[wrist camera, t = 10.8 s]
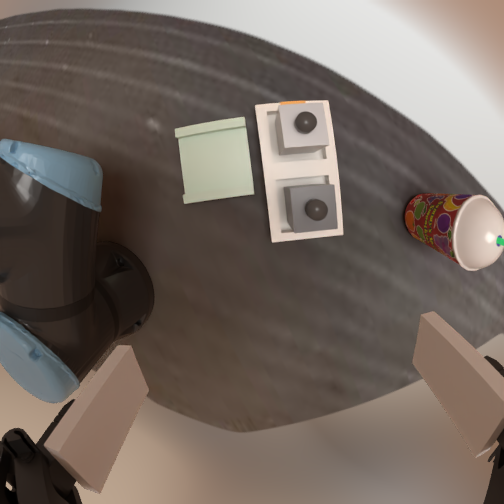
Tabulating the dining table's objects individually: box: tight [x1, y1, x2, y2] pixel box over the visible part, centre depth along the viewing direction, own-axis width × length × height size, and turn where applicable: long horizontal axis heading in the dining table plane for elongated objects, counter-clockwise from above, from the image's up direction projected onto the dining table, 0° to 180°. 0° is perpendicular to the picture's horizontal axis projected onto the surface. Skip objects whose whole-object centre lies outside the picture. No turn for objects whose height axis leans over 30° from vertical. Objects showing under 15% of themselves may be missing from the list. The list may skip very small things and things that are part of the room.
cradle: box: [175, 117, 254, 204], centre depth 34 cm, size 9×10×2 cm
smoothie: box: [405, 193, 504, 271], centre depth 25 cm, size 8×8×20 cm
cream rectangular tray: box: [255, 100, 343, 242], centre depth 29 cm, size 9×17×10 cm, turn 7°
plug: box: [275, 103, 329, 156], centre depth 28 cm, size 4×4×10 cm
